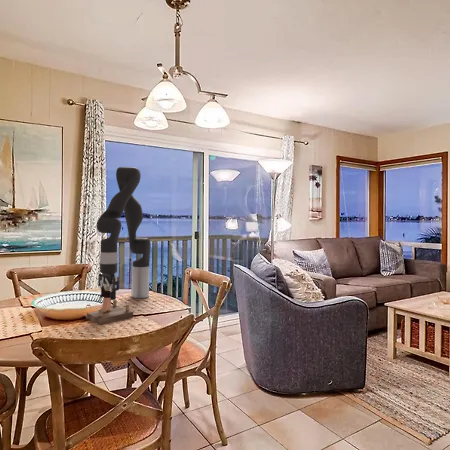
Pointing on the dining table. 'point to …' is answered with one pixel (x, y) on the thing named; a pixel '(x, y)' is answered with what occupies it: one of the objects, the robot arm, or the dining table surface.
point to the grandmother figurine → (106, 299)
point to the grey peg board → (110, 314)
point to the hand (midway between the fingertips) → (108, 298)
